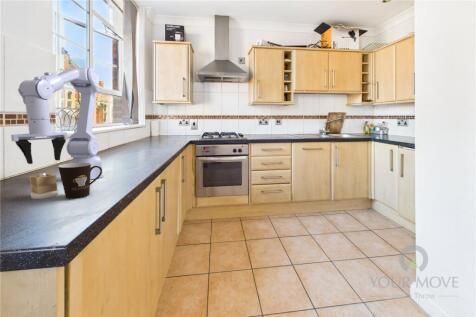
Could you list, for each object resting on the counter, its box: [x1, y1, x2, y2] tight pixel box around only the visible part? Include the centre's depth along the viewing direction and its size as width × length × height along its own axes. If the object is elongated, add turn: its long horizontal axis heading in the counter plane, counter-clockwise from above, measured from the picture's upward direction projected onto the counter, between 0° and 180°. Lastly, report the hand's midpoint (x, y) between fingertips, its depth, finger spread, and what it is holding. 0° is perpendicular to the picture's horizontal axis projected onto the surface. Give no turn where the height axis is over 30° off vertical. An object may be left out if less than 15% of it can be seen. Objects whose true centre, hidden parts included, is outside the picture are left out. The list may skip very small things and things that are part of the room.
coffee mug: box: [57, 162, 103, 200], centre depth 82 cm, size 12×9×10 cm
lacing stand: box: [30, 188, 59, 200], centre depth 82 cm, size 7×7×2 cm
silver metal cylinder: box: [38, 172, 47, 177], centre depth 82 cm, size 2×2×6 cm
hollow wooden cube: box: [29, 172, 58, 194], centre depth 82 cm, size 5×5×5 cm
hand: (44, 161), depth 85 cm, fingers open, 7 cm apart
